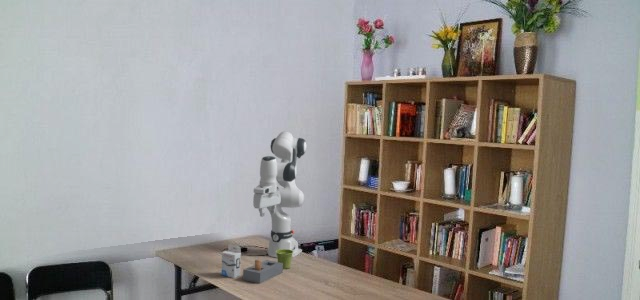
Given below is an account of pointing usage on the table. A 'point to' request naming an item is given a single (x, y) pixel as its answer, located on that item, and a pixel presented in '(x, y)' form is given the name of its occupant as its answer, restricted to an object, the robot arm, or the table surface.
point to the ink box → (231, 261)
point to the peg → (258, 265)
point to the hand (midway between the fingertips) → (267, 214)
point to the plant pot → (284, 257)
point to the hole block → (263, 271)
